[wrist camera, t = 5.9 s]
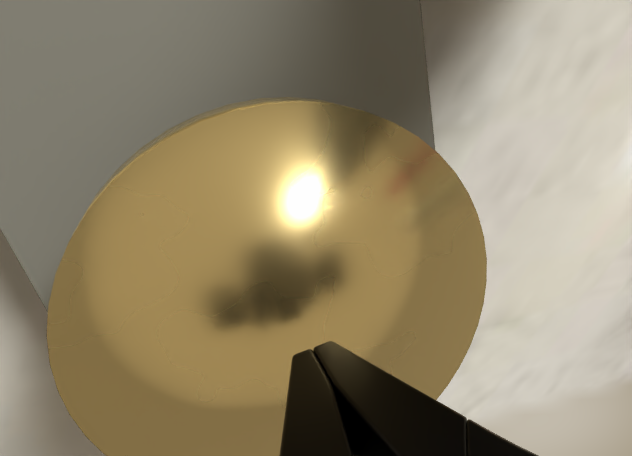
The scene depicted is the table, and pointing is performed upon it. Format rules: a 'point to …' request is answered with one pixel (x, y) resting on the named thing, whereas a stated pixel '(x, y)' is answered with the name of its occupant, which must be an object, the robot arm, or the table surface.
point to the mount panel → (173, 88)
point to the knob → (259, 274)
